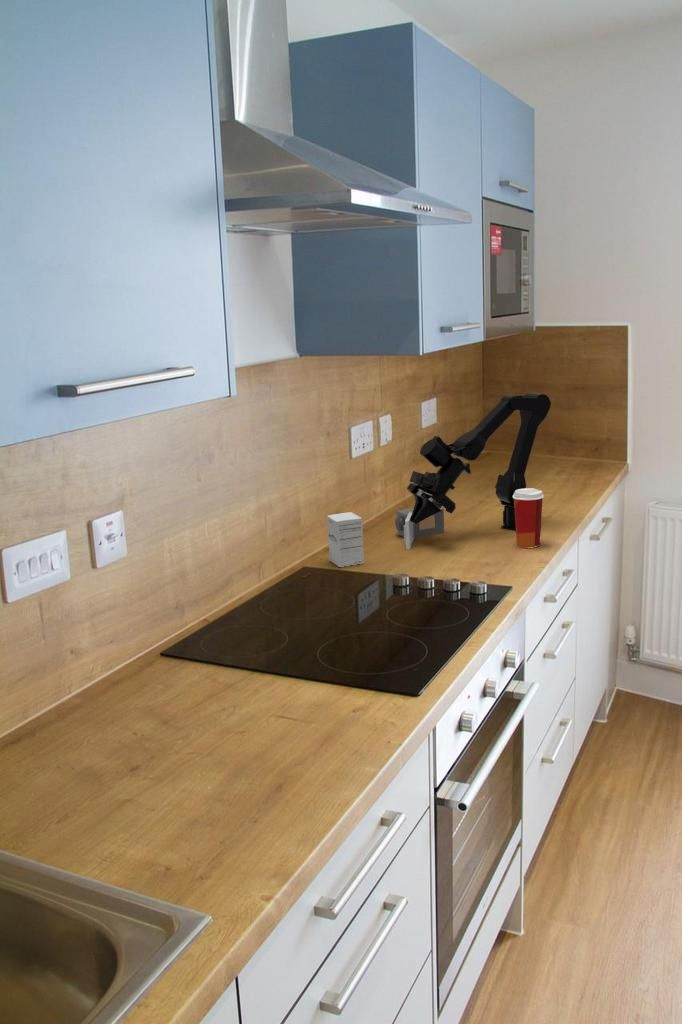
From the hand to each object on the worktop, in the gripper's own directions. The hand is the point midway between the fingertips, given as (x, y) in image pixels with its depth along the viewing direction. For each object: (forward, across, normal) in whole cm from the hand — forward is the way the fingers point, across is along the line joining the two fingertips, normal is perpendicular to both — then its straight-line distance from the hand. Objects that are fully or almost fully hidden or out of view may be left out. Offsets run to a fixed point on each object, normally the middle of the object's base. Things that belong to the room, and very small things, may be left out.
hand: (412, 522), depth 244 cm
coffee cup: (-13, +17, +24) cm, 32 cm away
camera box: (0, -10, +10) cm, 14 cm away
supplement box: (+20, +4, -11) cm, 23 cm away
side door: (+5, -2, +5) cm, 7 cm away
